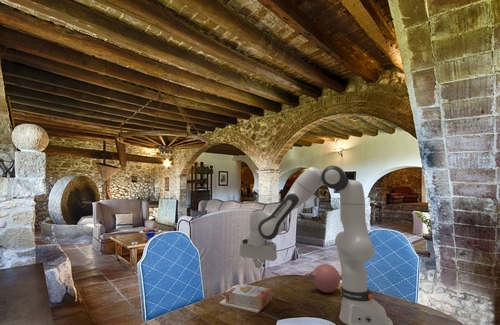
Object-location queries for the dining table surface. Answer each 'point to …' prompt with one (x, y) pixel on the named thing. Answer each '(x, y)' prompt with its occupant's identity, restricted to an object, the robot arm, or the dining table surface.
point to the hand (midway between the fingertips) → (258, 267)
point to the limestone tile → (239, 306)
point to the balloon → (325, 278)
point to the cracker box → (249, 296)
